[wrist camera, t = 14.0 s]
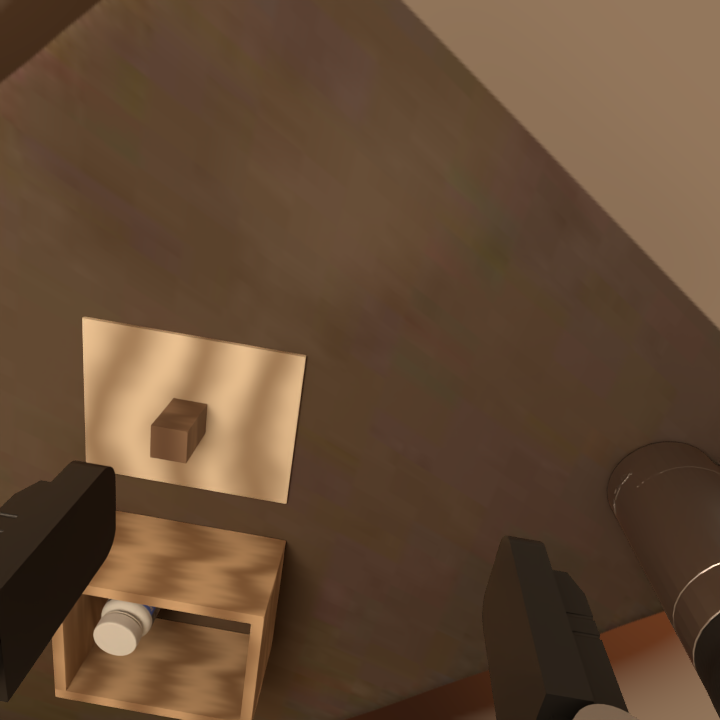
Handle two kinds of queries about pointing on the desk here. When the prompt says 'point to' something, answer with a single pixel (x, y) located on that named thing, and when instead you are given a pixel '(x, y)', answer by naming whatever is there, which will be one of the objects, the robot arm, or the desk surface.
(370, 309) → the desk surface
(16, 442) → the desk surface
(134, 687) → the box
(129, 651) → the pill bottle
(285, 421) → the lid
